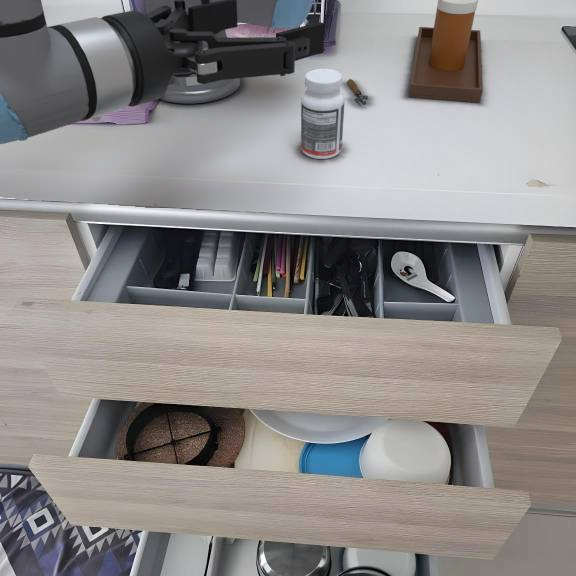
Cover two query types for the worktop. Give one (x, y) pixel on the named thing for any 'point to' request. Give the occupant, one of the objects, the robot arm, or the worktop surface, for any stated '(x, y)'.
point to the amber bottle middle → (452, 34)
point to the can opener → (356, 92)
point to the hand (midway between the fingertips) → (276, 24)
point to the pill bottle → (322, 114)
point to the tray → (446, 72)
